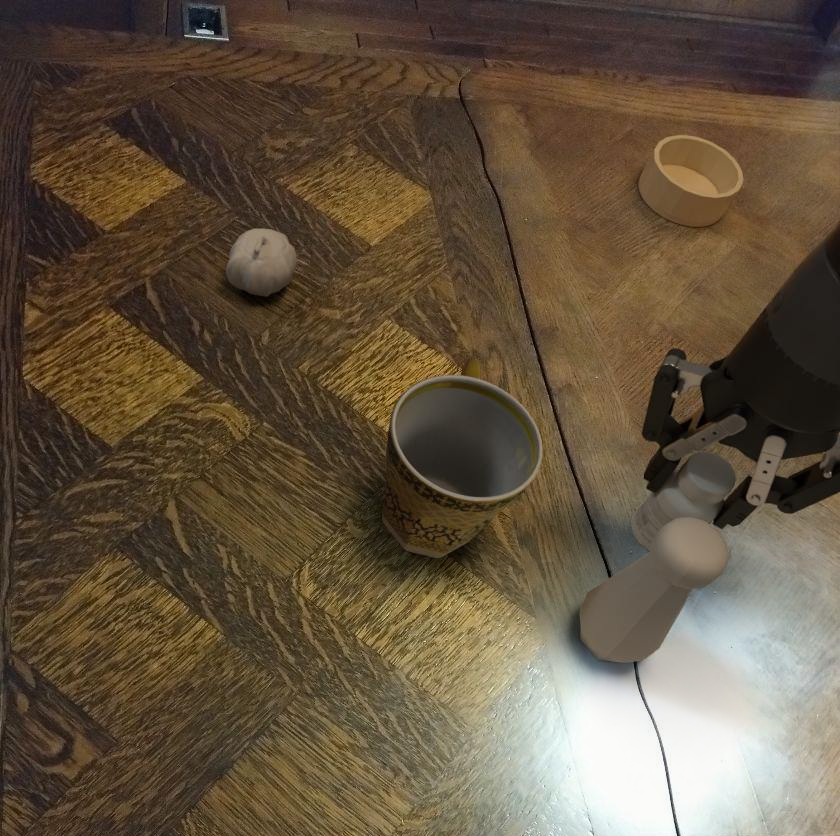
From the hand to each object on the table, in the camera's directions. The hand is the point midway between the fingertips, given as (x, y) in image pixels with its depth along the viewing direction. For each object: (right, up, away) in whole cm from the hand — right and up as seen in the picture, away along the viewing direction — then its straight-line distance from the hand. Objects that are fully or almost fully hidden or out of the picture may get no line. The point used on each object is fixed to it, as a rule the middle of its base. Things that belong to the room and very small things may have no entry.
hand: (686, 499), depth 68 cm
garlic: (-30, +18, +12) cm, 37 cm away
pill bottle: (-1, -2, +4) cm, 4 cm away
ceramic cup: (-17, 0, +4) cm, 18 cm away
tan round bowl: (+10, +30, +27) cm, 41 cm away
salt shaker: (-6, -10, 0) cm, 11 cm away
